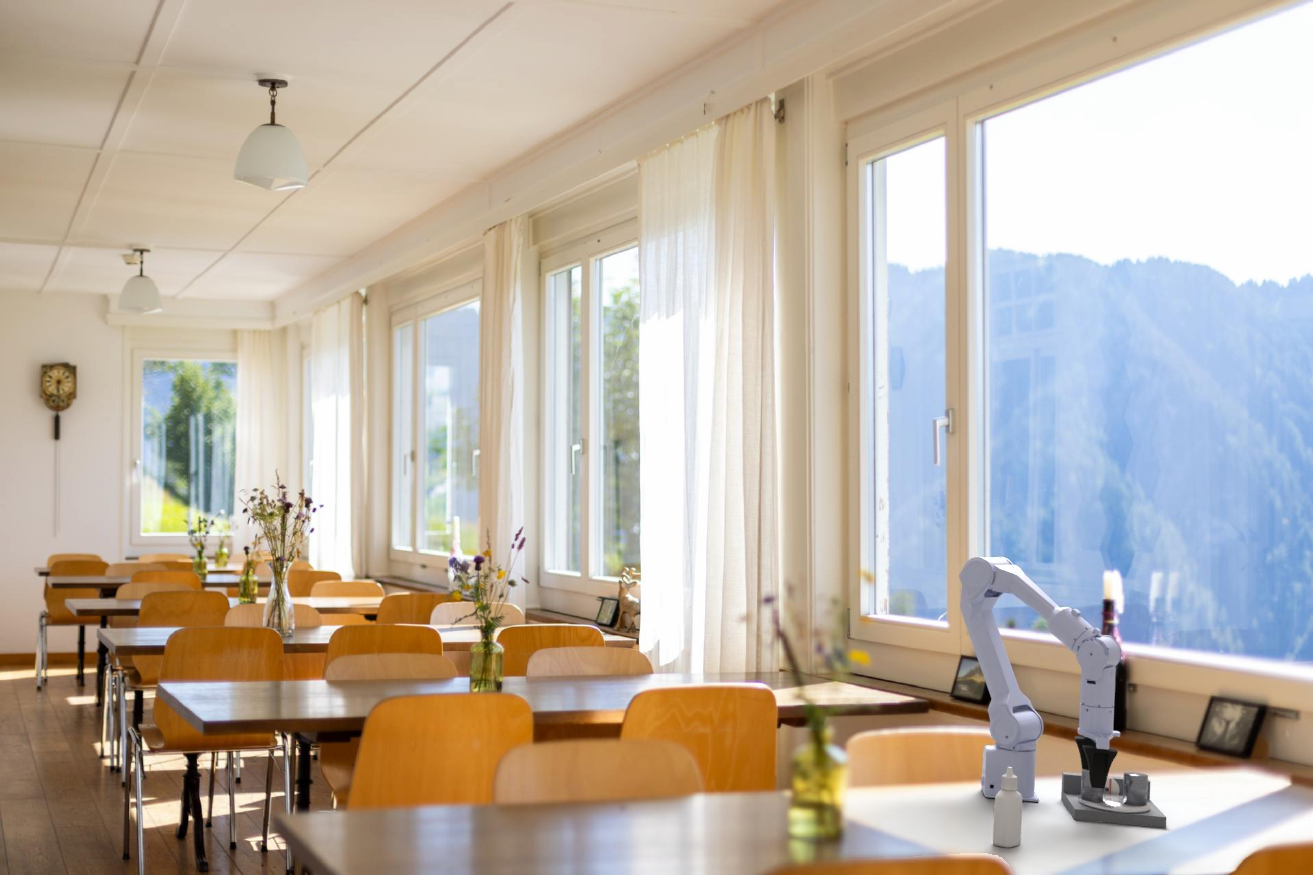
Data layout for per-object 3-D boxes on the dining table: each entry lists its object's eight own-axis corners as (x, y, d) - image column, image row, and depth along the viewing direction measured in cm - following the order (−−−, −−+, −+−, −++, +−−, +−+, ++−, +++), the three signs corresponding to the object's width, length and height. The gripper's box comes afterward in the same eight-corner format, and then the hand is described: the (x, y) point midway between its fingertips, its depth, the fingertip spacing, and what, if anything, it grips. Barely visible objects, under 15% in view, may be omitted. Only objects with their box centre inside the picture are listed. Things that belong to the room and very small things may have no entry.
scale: (1074, 819, 224) (1075, 789, 224) (1061, 799, 239) (1062, 770, 239) (1166, 827, 222) (1167, 796, 222) (1146, 806, 237) (1148, 777, 237)
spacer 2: (1125, 804, 227) (1126, 775, 227) (1120, 799, 231) (1121, 770, 231) (1149, 806, 226) (1150, 777, 226) (1143, 801, 230) (1144, 772, 230)
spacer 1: (1083, 801, 228) (1085, 772, 228) (1078, 795, 232) (1079, 767, 232) (1107, 802, 227) (1108, 773, 228) (1101, 797, 231) (1102, 769, 231)
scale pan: (1083, 809, 224) (1084, 806, 224) (1072, 793, 236) (1072, 790, 236) (1157, 816, 222) (1157, 812, 222) (1142, 799, 234) (1142, 796, 234)
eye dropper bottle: (983, 840, 207) (986, 764, 207) (1013, 839, 209) (1017, 763, 209) (999, 848, 203) (1002, 770, 203) (1030, 846, 205) (1033, 769, 205)
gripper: (1129, 713, 222) (1125, 794, 222) (1112, 700, 237) (1109, 775, 236) (1085, 710, 223) (1082, 790, 223) (1072, 697, 238) (1069, 772, 237)
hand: (1093, 782), depth 230 cm, fingers open, 7 cm apart
